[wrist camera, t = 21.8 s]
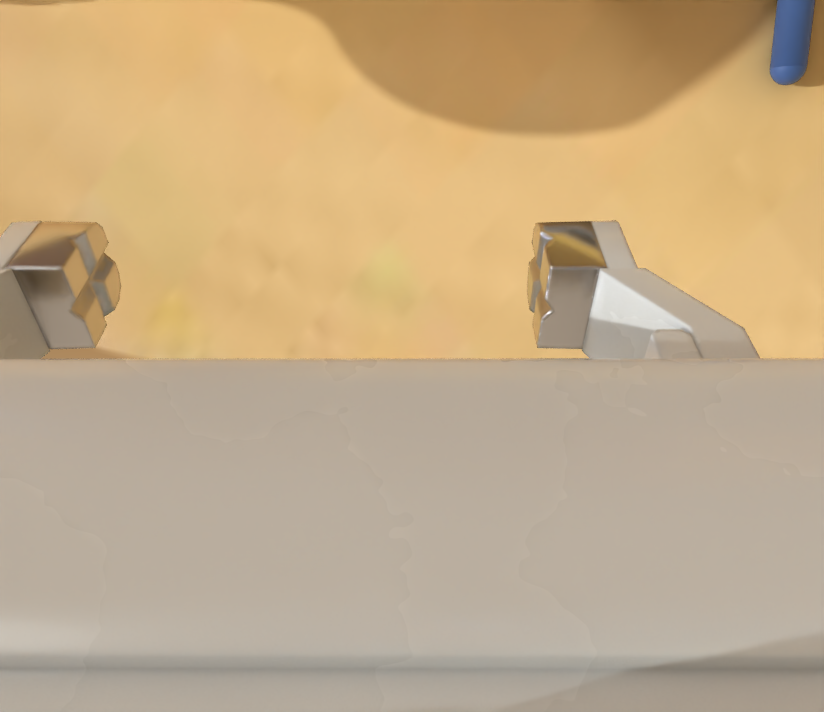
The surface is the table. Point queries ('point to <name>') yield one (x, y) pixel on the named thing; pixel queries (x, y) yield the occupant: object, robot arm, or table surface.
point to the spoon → (791, 40)
